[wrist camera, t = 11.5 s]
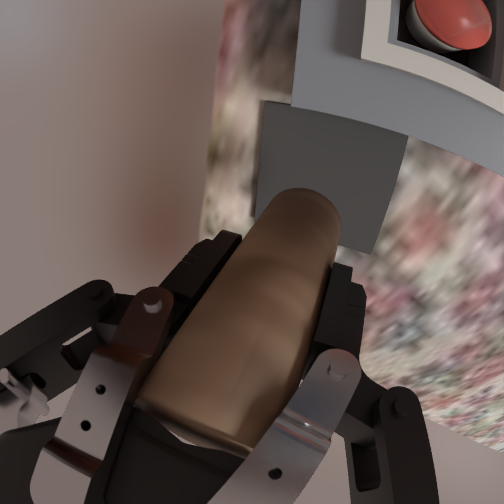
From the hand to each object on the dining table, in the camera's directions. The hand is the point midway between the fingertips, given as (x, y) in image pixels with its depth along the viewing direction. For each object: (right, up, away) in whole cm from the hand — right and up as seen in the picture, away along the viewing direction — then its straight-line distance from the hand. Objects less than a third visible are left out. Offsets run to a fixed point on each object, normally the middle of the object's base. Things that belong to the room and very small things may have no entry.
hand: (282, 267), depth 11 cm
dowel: (+1, +2, +2) cm, 3 cm away
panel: (+9, +13, -1) cm, 16 cm away
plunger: (+9, +13, -2) cm, 16 cm away
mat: (+4, +5, +7) cm, 10 cm away
